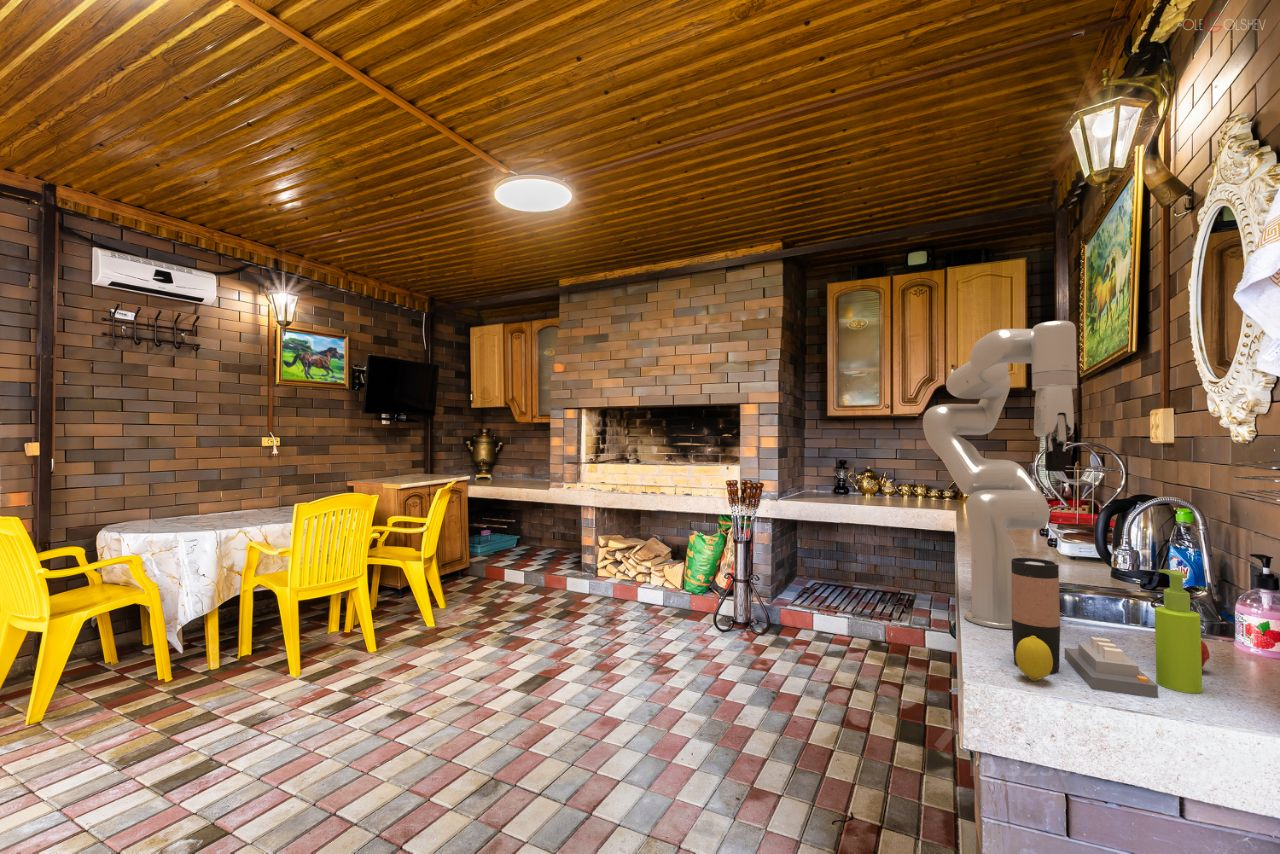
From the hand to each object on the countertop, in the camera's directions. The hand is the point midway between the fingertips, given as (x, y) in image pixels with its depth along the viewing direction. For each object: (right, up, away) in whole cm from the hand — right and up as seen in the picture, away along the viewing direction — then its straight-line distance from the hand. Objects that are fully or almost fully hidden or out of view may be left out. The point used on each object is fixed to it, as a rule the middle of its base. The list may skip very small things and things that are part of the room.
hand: (1055, 471), depth 118 cm
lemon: (-15, -37, -15) cm, 42 cm away
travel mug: (-10, -37, -8) cm, 39 cm away
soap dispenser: (+10, -37, -16) cm, 41 cm away
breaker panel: (+1, -37, -12) cm, 39 cm away
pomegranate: (+19, -37, -8) cm, 42 cm away
